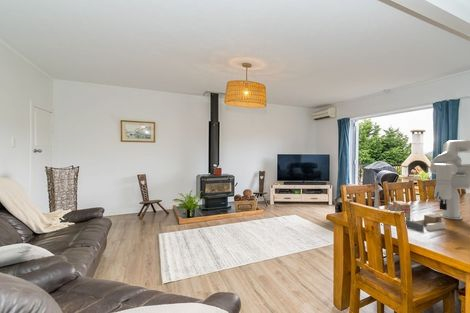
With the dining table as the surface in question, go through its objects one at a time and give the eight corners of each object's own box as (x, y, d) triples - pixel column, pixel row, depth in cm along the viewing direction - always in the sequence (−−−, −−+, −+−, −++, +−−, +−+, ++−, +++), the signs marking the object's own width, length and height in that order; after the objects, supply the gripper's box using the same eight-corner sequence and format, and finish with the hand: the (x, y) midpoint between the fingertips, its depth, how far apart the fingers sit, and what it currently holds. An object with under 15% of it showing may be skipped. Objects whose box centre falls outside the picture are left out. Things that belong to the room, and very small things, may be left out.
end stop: (407, 226, 156) (407, 220, 156) (423, 230, 146) (423, 224, 146) (405, 226, 155) (406, 220, 155) (421, 231, 146) (421, 224, 146)
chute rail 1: (427, 223, 162) (427, 218, 162) (430, 223, 160) (430, 218, 160) (412, 225, 158) (412, 220, 158) (415, 226, 156) (415, 220, 156)
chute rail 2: (441, 227, 153) (441, 221, 153) (445, 228, 151) (445, 222, 151) (426, 229, 149) (426, 224, 149) (429, 230, 147) (429, 224, 147)
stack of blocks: (387, 213, 188) (387, 198, 187) (396, 213, 186) (396, 198, 186) (400, 221, 167) (400, 204, 166) (410, 221, 165) (410, 204, 165)
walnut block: (431, 224, 159) (431, 214, 159) (441, 227, 154) (441, 216, 154) (424, 225, 157) (424, 215, 157) (433, 228, 152) (433, 217, 152)
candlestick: (367, 218, 174) (368, 178, 173) (388, 221, 166) (388, 179, 165) (364, 222, 164) (364, 180, 163) (385, 226, 156) (386, 181, 155)
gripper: (444, 181, 163) (444, 207, 163) (429, 182, 159) (429, 208, 159) (457, 182, 156) (457, 210, 156) (442, 183, 152) (441, 211, 152)
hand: (443, 209), depth 158 cm, fingers closed
